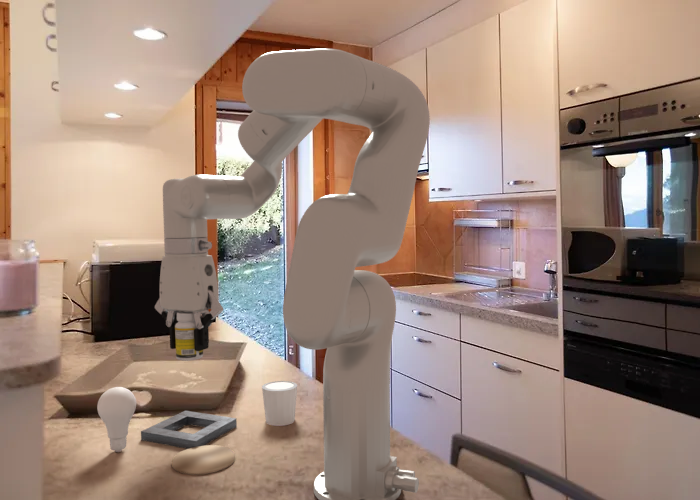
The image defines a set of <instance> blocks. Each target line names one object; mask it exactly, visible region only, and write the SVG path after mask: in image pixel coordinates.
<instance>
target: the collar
mask: <svg viewBox="0 0 700 500" xmlns="http://www.w3.org/2000/svg"><path fill="white" fill-rule="evenodd" d="M187 425H188V426H194V427H201V429H200V430H198V431H196V432H195V433H190V432H184V431H178V430H179V429H181V428H183V427H186V426H187ZM237 427H238V426H237V418H236V417H230V416H221V415H217V414H216V415H215V414H210V413H202V412H196V411H190V410H184V411H181V412H179V413H177V414H174V415H173V416H170V417H169V418H166V419H164V420H163V421H160V422H159V423H156V424H154V425H151V426H150V427H148V428H145V429H143V430H141V431H140V440H141V441H144V442H149V443H153V444H155V443H156V444H159V445H164V446H165V445H166V446H170V447H176V448H180V449H185V450H186V449H189V448H193V447H198V446H205V445H209V443H211V442H212V441H215V440H216V439H218V438H220V437H222V436H223V435H225V434H226V433H228V432H230V431H232V430H234V429H235V428H237Z"/></svg>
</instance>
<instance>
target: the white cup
mask: <svg viewBox="0 0 700 500" xmlns="http://www.w3.org/2000/svg"><path fill="white" fill-rule="evenodd" d="M261 388H262V389H261V390H262V399H263V408H264V417H265V418H264V419H265V423H266V424H267V425H269V426H276V427H279V426H280V427H281V426H287V425H290V424H293V423H294V422H295V420H296V408H297V407H296V406H297V395H298V384H297V383H296V382H293V381H287V380H286V381H285V380H277V381H276V380H275V381H270V382H267V383H264V384H263V385H261Z"/></svg>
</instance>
